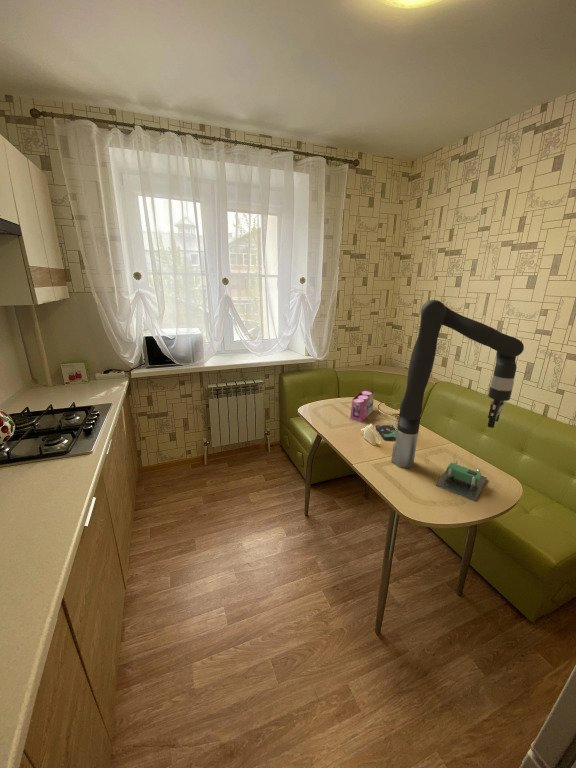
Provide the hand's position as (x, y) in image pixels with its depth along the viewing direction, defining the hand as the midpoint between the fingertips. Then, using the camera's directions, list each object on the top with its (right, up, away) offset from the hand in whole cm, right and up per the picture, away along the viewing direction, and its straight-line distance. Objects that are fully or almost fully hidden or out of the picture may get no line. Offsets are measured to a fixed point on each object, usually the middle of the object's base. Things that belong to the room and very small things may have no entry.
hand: (492, 423), depth 131 cm
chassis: (-10, -26, +5) cm, 28 cm away
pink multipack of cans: (-38, -4, +73) cm, 83 cm away
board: (-10, -23, +4) cm, 25 cm away
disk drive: (-28, -12, +48) cm, 57 cm away
